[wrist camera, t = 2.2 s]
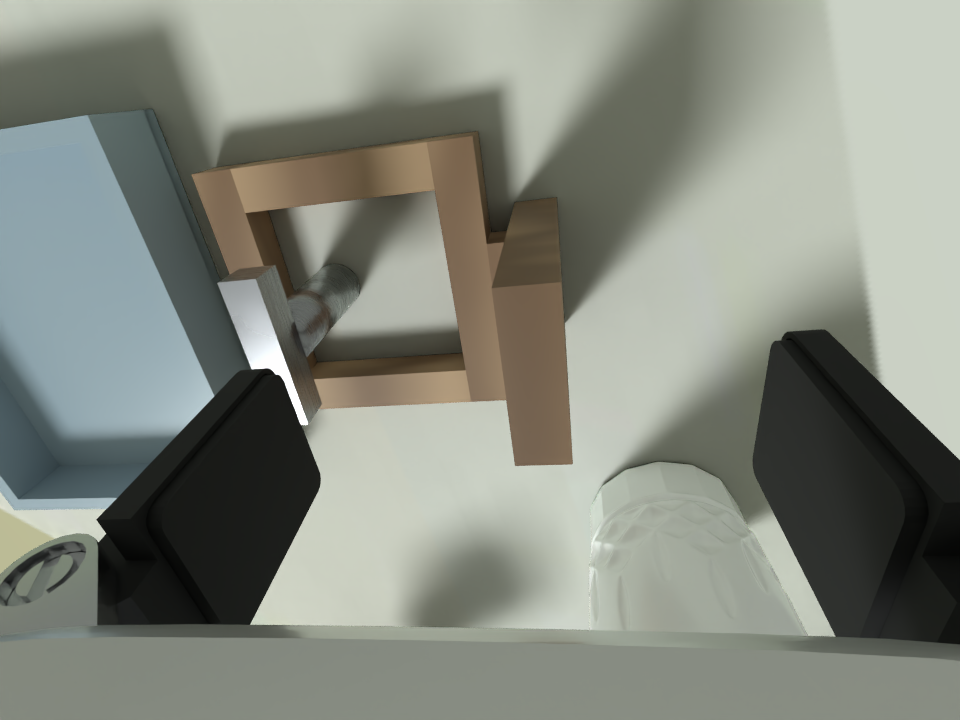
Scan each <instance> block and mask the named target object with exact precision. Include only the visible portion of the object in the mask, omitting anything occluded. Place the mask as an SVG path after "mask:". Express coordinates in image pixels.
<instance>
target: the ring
mask: <svg viewBox="0 0 960 720" xmlns="http://www.w3.org/2000/svg"><path fill="white" fill-rule="evenodd" d="M191 175H192V178H193V180H194V183H195V185H196V188H197V191H198V193H199V196H200V198H201V201H202V204H203V206H204V209H205V211H206V214H207V217H208V219H209V222H210V225H211V227H212V230H213V232H214V235H215V238H216V240H217V243H218V245H219V248H220V251H221V253H222V256H223V258H224V261H225V264H226V266H227V269H228V271H229V274H232V273H233V272H235V271H236V270H238V269H241V268H251V267H261V266H271V265H276V268H277V271H278V274H279V277H280V280H281V283H282V286H283V289H284V291H285V294H286V297H287V298H289V297H290V296H291V295H292V294H293V293H294V290H293V287H292V284H291V280H290V277H289V274H288V271H287V268H286V265H285V262H284V259H283V256H282V253H281V250H280V247H279V244H278V241H277V238H276V235H275V231H274V228H273V225H272V222H271V219H270V216H269V213H268V210H274V209H282V208H291V207H299V206H307V205H316V204H324V203H332V202H341V201H349V200H357V199H365V198H374V197H382V196H390V195H399V194H407V193H415V192H423V191H432V190H435V194H436V200H437V206H438V212H439V218H440V223H441V229H442V235H443V241H444V247H445V253H446V258H447V264H448V270H449V276H450V282H451V288H452V293H453V299H454V305H455V311H456V317H457V323H458V328H459V334H460V340H461V346H462V352H463V353H456V354H440V355H425V356H409V357H394V358H379V359H363V360H348V361H332V362H317V360H316V357H315V354H314V351H312V352H311V353H310V354H309V355H308V357H307V360H308V363H309V366H310V369H311V372H312V375H313V378H314V381H315V384H316V387H317V390H318V393H319V396H320V399H321V402H322V405H321V406H320V408H319V409H329V408H350V407H371V406H391V405H412V404H433V403H454V402H474V401H495V400H506V401H507V409H508V416H509V424H510V431H511V439H512V446H513V454H514V461H515V466H526V465H564V464H573V460H572V442H571V425H570V408H569V390H568V373H567V355H566V338H565V321H564V305H563V289H562V273H561V257H560V242H559V226H558V210H557V197H556V198H547V199H538V200H530V201H521V202H515V203H514V207H513V211H512V214H511V218H510V222H509V225H508V229H507V231H500V232H491V229H490V221H489V213H488V205H487V197H486V189H485V182H484V174H483V166H482V158H481V150H480V142H479V134H478V131H475V132H468V133H461V134H454V135H446V136H439V137H432V138H425V139H417V140H410V141H403V142H396V143H389V144H381V145H374V146H367V147H360V148H353V149H345V150H338V151H331V152H324V153H316V154H309V155H302V156H295V157H288V158H280V159H273V160H266V161H259V162H251V163H244V164H237V165H230V166H223V167H215V168H212V169H209V170H205V171H202V172H198V173H195V174H191Z"/></svg>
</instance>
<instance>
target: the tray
mask: <svg viewBox="0 0 960 720" xmlns="http://www.w3.org/2000/svg"><path fill="white" fill-rule="evenodd" d="M219 281H220V279H219V276H218V274H217V271H216V269H215V266H214V263H213V261H212V258H211V256H210V253H209V251H208V248H207V246H206V243H205V241H204V238H203V236H202V233H201V231H200V228H199V225H198V223H197V220H196V218H195V215H194V213H193V210H192V208H191V205H190V203H189V200H188V198H187V195H186V193H185V190H184V188H183V185H182V182H181V180H180V177H179V175H178V172H177V170H176V167H175V165H174V162H173V160H172V157H171V155H170V152H169V150H168V147H167V144H166V142H165V139H164V137H163V134H162V132H161V129H160V127H159V124H158V122H157V119H156V117H155V114H154V112H153V109H146V110H135V111H125V112H114V113H103V114H93V115H84V116H78V117H72V118H66V119H60V120H54V121H48V122H42V123H36V124H30V125H24V126H18V127H12V128H6V129H0V492H1V493H2V495H3V496H4V497H5V498H6V500H7V501H8V502H9V504H10V505H11V506H12V508H13V509H14V510H53V509H107V508H108V507H109V506H110V505H111V504H112V503H113V502H114V501H115V500H116V499H117V498H118V497H119V496H120V494H121V493H122V492H123V491H124V490H125V489H126V488H127V487H128V486H129V485H130V484H131V483H132V482H133V481H134V480H135V479H136V478H137V477H138V476H139V475H140V474H141V473H142V471H143V470H144V469H145V468H146V467H147V466H148V465H149V464H150V463H151V462H152V461H153V460H154V459H155V458H156V457H157V456H158V455H159V454H160V453H161V452H162V451H163V449H164V448H165V447H166V446H167V445H168V444H169V443H170V442H171V441H172V440H173V439H174V438H175V437H176V436H177V435H178V434H179V433H180V432H181V431H182V430H183V429H184V428H185V426H186V425H187V424H188V423H189V422H190V421H191V420H192V419H193V418H194V417H195V416H196V415H197V414H198V413H199V412H200V411H201V410H202V409H203V408H204V407H205V406H206V405H207V403H208V402H209V401H210V400H211V399H212V398H213V397H214V396H215V395H216V394H217V393H218V392H219V391H220V390H221V389H222V388H223V387H224V386H225V385H226V384H227V383H228V381H229V380H230V379H231V378H232V377H233V376H234V375H235V374H236V373H237V372H239V371H240V370H249V369H251V366H250V364H249V361H248V359H247V356H246V354H245V351H244V349H243V346H242V344H241V341H240V339H239V336H238V334H237V331H236V329H235V326H234V324H233V321H232V319H231V316H230V314H229V311H228V309H227V306H226V304H225V301H224V299H223V296H222V294H221V291H220V289H219V286H218V284H217V283H218V282H219Z"/></svg>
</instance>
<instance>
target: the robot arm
mask: <svg viewBox="0 0 960 720" xmlns="http://www.w3.org/2000/svg"><path fill="white" fill-rule="evenodd" d="M753 469H754V473H755V476H756V479H757V481H758V483H759V485H760V487H761V489H762V491H763V493H764V495H765V497H766V499H767V501H768V503H769V505H770V507H771V509H772V511H773V513H774V515H775V517H776V519H777V521H778V523H779V524H780V526H781V528H782V530H783V532H784V534H785V536H786V538H787V540H788V542H789V544H790V546H791V548H792V550H793V552H794V554H795V556H796V558H797V560H798V562H799V564H800V566H801V568H802V570H803V572H804V574H805V576H806V578H807V580H808V582H809V584H810V586H811V588H812V590H813V592H814V594H815V596H816V598H817V600H818V602H819V604H820V606H821V608H822V610H823V612H824V614H825V616H826V618H827V620H828V622H829V624H830V626H831V628H832V630H833V632H834V634H835V636H836V637H827V636H801V635H774V634H747V633H701V632H655V631H610V630H564V629H508V628H451V627H386V626H310V625H250V623H251V622H252V620H253V618H254V616H255V614H256V612H257V610H258V608H259V606H260V604H261V602H262V600H263V598H264V596H265V594H266V592H267V590H268V588H269V586H270V584H271V582H272V580H273V579H274V577H275V575H276V573H277V571H278V569H279V567H280V565H281V563H282V561H283V559H284V557H285V555H286V553H287V551H288V549H289V547H290V545H291V543H292V541H293V539H294V537H295V536H296V534H297V532H298V530H299V528H300V526H301V524H302V522H303V520H304V518H305V516H306V514H307V512H308V510H309V508H310V506H311V504H312V502H313V500H314V498H315V496H316V494H317V493H318V490H319V488H320V481H321V478H320V472H319V469H318V467H317V464H316V462H315V459H314V457H313V454H312V451H311V449H310V446H309V444H308V441H307V439H306V436H305V433H304V431H303V428H302V426H301V423H300V421H299V418H298V416H297V413H296V410H295V408H294V405H293V403H292V400H291V398H290V395H289V392H288V390H287V387H286V385H285V382H284V380H283V378H282V377H281V376H280V375H276V374H275V373H274V372H273V371H272V370H271V369H269V368H263V369H249V370H240V371H239V372H237V373H236V374H235V375H234V376H233V377H232V378H231V379H230V380H229V381H228V383H227V384H226V385H225V386H224V387H223V388H222V389H221V390H220V391H219V392H218V393H217V394H216V395H215V396H214V397H213V398H212V399H211V400H210V401H209V402H208V403H207V405H206V406H205V407H204V408H203V409H202V410H201V411H200V412H199V413H198V414H197V415H196V416H195V417H194V418H193V419H192V420H191V421H190V422H189V423H188V424H187V425H186V426H185V428H184V429H183V430H182V431H181V432H180V433H179V434H178V435H177V436H176V437H175V438H174V439H173V440H172V441H171V442H170V443H169V444H168V445H167V446H166V447H165V448H164V449H163V451H162V452H161V453H160V454H159V455H158V456H157V457H156V458H155V459H154V460H153V461H152V462H151V463H150V464H149V465H148V466H147V467H146V468H145V469H144V470H143V471H142V473H141V474H140V475H139V476H138V477H137V478H136V479H135V480H134V481H133V482H132V483H131V484H130V485H129V486H128V487H127V488H126V489H125V490H124V491H123V492H122V493H121V494H120V496H119V497H118V498H117V499H116V500H115V501H114V502H113V503H112V504H111V505H110V506H109V507H108V508H107V509H106V510H105V511H104V512H103V513H102V514H101V515H100V516H99V517H98V519H97V521H98V523H99V524H100V525H101V527H102V528H103V529H104V531H105V532H106V535H105V536H104V537H103V538H102V539H101V540H100V542H99V543H98V541H97V540H96V539H95V538H94V537H92V536H90V535H89V534H72V535H67V536H62V537H59V538H57V539H54V540H52V541H49V542H46V543H44V544H42V545H40V546H39V547H37V548H35V549H33V550H31V551H29V552H28V553H26V554H25V555H24V556H22V557H21V558H19V559H18V560H16V561H15V562H13V563H12V564H11V565H10V566H9V567H8V568H7V569H5V570H4V571H3V572H2V573H1V574H0V720H960V460H959V459H958V458H957V457H956V456H955V455H954V454H953V453H952V452H951V451H950V450H949V449H948V448H947V447H946V446H945V445H944V444H943V443H941V442H940V441H939V440H938V439H937V438H936V437H935V436H934V435H933V434H932V433H931V432H930V431H929V430H928V429H927V428H926V427H925V426H924V425H923V424H922V423H921V422H920V421H919V420H918V419H917V418H916V417H915V416H914V415H913V414H912V413H911V412H910V411H909V410H908V409H907V408H906V407H905V406H903V404H902V403H901V402H899V401H898V400H897V399H896V398H895V397H894V396H893V395H892V394H891V393H890V392H889V391H888V390H887V389H886V388H885V387H884V386H883V385H882V384H881V383H880V382H879V381H878V380H877V379H876V378H875V377H874V376H873V375H872V374H871V373H870V372H869V371H868V370H867V369H866V368H865V367H864V366H863V365H862V364H860V363H859V362H858V361H857V360H856V359H855V358H854V357H853V356H852V355H851V354H850V353H849V352H848V351H847V350H846V349H845V348H844V347H843V346H842V345H841V344H840V343H839V342H838V341H837V340H836V339H835V338H834V337H833V336H832V335H831V334H830V333H829V332H827V331H826V330H807V331H793V332H787V333H785V334H784V336H783V337H782V340H781V341H774V342H773V344H772V346H771V349H770V355H769V361H768V367H767V374H766V380H765V386H764V392H763V398H762V404H761V410H760V416H759V423H758V429H757V435H756V441H755V447H754V453H753Z"/></svg>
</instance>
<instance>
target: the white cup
mask: <svg viewBox="0 0 960 720" xmlns="http://www.w3.org/2000/svg"><path fill="white" fill-rule="evenodd" d="M590 526H591V558H590V564H589V597H590V599H589V630H610V631H655V632H701V633H747V634H774V635H801V636H808V634H807V632H806V631H805V629H804V627H803V625H802V623H801V621H800V619H799V617H798V615H797V613H796V611H795V609H794V607H793V605H792V603H791V601H790V599H789V597H788V595H787V593H786V592H785V591H784V589H783V588H782V586H781V584H780V582H779V579H778V577H777V575H776V574H775V572H774V570H773V568H772V566H771V564H770V562H769V560H768V559H767V558H766V556H765V554H764V552H763V550H762V548H761V546H760V544H759V542H758V540H757V538H756V536H755V535H754V533H753V532H752V531H751V530H750V529H749V528H748V526H747V524H746V522H745V520H744V518H743V516H742V514H741V512H740V510H739V508H738V506H737V504H736V502H735V500H734V499H733V497H732V496H731V494H730V493H729V491H728V490H727V489H726V487H725V486H724V484H723V483H722V481H721V480H720V479H719V478H717V477H715V476H713V475H711V474H709V473H707V472H705V471H703V470H701V469H699V468H697V467H695V466H693V465H689V464H678V463H667V462H654V463H650V464H646V465H642V466H638V467H634V468H630V469H626V470H624V471H623V472H622V473H620V474H619V475H617V476H616V477H615V478H613V479H612V480H610V481H609V482H607V483H606V484H605V485H603V486H602V487H601V489H600V491H599V492H598V494H597V496H596V498H595V500H594V502H593V504H592V506H591V508H590Z"/></svg>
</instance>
